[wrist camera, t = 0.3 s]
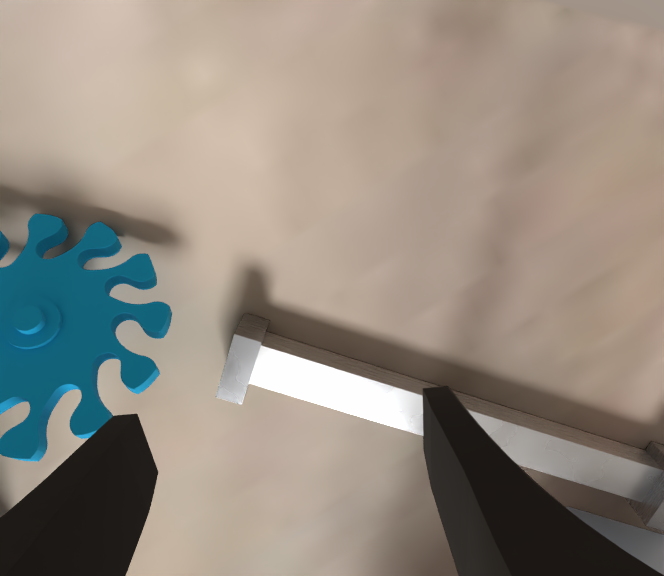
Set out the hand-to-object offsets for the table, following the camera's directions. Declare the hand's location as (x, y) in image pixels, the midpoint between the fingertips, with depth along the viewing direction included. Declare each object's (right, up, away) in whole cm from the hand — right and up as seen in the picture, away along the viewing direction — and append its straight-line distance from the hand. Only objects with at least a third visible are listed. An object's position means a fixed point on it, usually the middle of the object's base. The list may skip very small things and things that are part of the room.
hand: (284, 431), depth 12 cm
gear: (-11, +3, +11) cm, 16 cm away
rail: (+7, -2, +12) cm, 14 cm away
